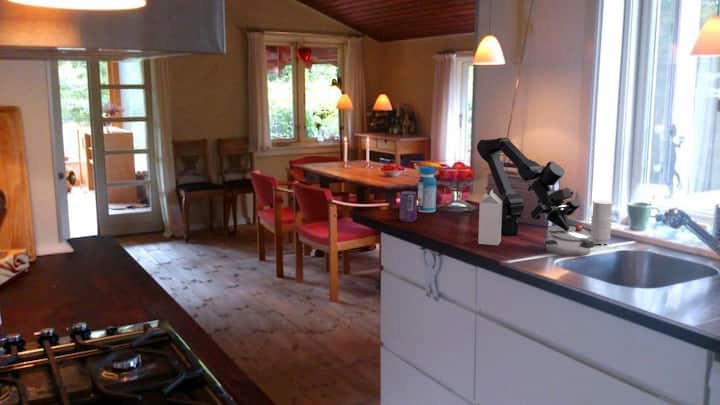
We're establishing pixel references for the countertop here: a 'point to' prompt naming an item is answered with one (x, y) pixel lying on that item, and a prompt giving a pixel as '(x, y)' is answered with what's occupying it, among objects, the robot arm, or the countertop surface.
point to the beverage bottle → (427, 190)
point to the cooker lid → (569, 233)
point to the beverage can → (408, 206)
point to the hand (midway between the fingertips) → (567, 229)
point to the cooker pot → (568, 246)
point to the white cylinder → (601, 221)
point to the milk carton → (490, 219)
